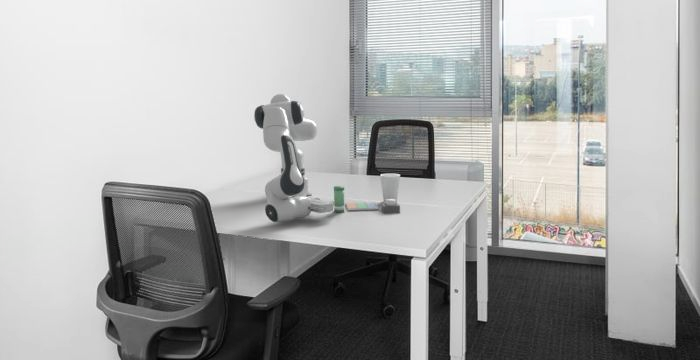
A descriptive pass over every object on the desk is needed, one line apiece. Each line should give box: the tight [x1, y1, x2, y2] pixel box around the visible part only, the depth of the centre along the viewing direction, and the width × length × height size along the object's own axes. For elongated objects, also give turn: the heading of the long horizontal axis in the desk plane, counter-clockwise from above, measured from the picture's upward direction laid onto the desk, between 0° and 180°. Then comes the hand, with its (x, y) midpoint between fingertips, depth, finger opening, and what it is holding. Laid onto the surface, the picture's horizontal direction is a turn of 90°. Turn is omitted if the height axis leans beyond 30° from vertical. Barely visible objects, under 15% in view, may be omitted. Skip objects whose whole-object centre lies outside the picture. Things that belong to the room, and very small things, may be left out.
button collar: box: [380, 202, 401, 214], centre depth 238 cm, size 7×7×3 cm
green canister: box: [333, 185, 345, 214], centre depth 237 cm, size 5×5×11 cm
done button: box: [384, 199, 397, 206], centre depth 238 cm, size 4×4×3 cm
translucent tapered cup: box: [379, 173, 401, 203], centre depth 258 cm, size 10×9×13 cm
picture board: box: [344, 202, 381, 212], centre depth 247 cm, size 15×14×1 cm
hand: (326, 201), depth 232 cm, fingers open, 8 cm apart
